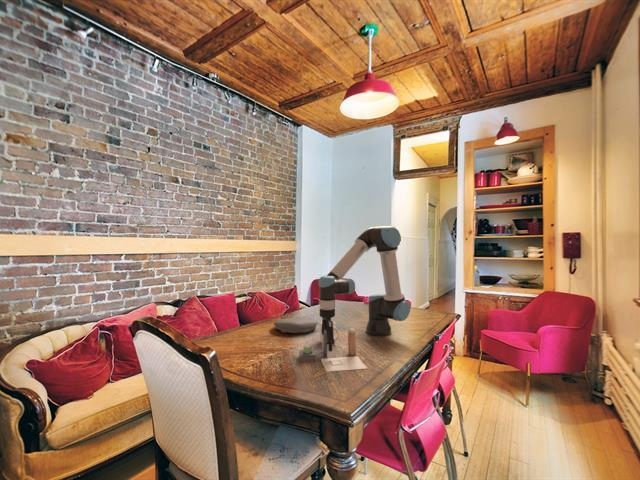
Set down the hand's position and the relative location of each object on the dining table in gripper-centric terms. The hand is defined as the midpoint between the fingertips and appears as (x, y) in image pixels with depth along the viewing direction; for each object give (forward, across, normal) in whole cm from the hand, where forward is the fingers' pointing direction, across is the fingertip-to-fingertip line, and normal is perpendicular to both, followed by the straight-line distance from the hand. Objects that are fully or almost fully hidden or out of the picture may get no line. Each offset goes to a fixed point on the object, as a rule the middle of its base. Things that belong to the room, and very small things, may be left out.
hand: (327, 352), depth 146 cm
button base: (+1, +2, -10) cm, 10 cm away
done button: (0, +2, -10) cm, 10 cm away
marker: (+1, 0, 0) cm, 1 cm away
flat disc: (+2, -48, -11) cm, 49 cm away
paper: (+1, +11, +5) cm, 12 cm away
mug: (+2, -19, +5) cm, 20 cm away
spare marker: (+1, +1, +12) cm, 12 cm away
